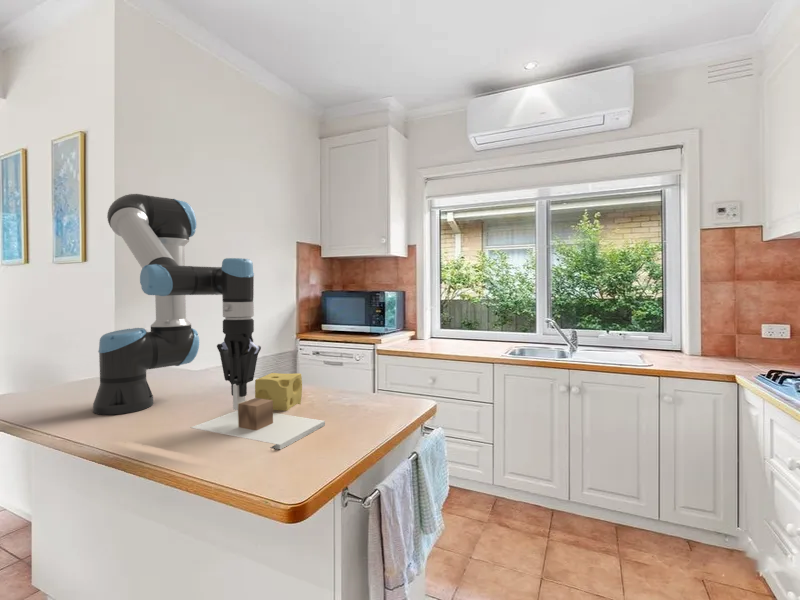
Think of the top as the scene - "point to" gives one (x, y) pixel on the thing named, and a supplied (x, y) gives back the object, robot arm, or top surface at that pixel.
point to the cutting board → (265, 428)
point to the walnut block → (255, 413)
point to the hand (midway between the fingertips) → (239, 408)
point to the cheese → (280, 389)
